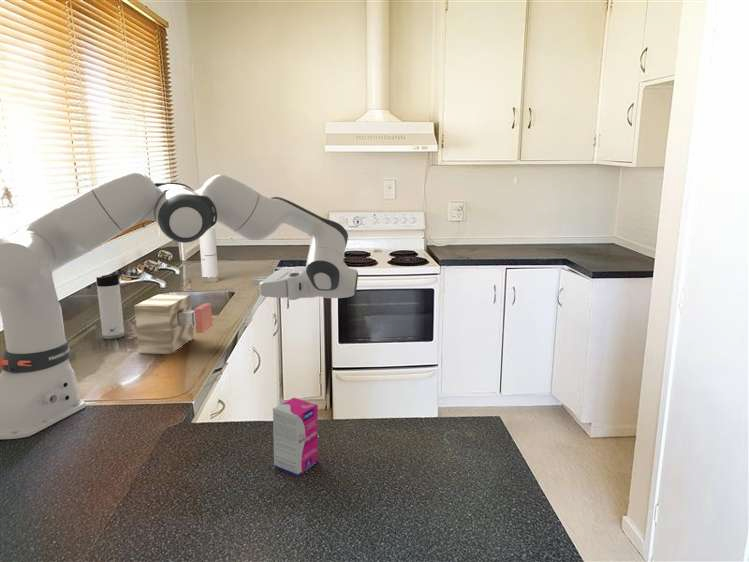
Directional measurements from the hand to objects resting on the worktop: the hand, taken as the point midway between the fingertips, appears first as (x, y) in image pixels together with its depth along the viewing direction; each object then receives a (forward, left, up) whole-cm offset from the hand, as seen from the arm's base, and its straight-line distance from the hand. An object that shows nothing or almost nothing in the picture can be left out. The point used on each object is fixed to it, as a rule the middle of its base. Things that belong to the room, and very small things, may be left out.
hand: (253, 281), depth 156 cm
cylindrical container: (+90, +52, -20) cm, 106 cm away
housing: (0, +28, -20) cm, 34 cm away
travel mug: (+7, +49, -20) cm, 53 cm away
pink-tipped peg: (0, +22, -15) cm, 26 cm away
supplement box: (-61, -27, -20) cm, 70 cm away
